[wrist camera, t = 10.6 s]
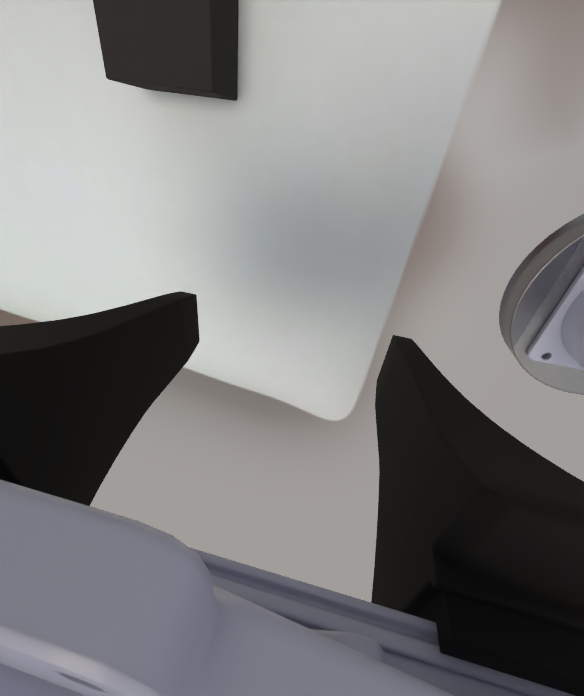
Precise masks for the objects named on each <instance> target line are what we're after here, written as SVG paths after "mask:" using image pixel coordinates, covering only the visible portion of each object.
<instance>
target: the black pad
mask: <svg viewBox="0 0 584 696" xmlns="http://www.w3.org/2000/svg"><path fill="white" fill-rule="evenodd" d="M93 3H94V8H95V14H96V20H97V26H98V32H99V37H100V43H101V49H102V55H103V61H104V66H105V72H106V77H107V79H109V80H113V81H117V82H121V83H125V84H129V85H132V86H136V87H140V88H144V89H149V90H157V91H165V92H173V93H180V94H188V95H196V96H204V97H212V98H219V99H227V100H235V101H236V100H237V50H238V0H93Z"/></svg>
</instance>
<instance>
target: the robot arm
mask: <svg viewBox="0 0 584 696" xmlns="http://www.w3.org/2000/svg"><path fill="white" fill-rule="evenodd" d="M198 343H199V327H198V313H197V298H196V295H195V294H190V293H185V292H175V293H170V294H166V295H162V296H158V297H154V298H151V299H147V300H144V301H140V302H137V303H133V304H130V305H126V306H122V307H118V308H114V309H110V310H106V311H102V312H98V313H94V314H89V315H84V316H79V317H73V318H67V319H62V320H55V321H47V322H38V323H30V324H21V325H10V326H0V696H584V482H583V481H582V480H580V479H578V478H576V477H574V476H573V475H571V474H569V473H567V472H566V471H564V470H563V469H561V468H560V467H558V466H556V465H555V464H553V463H552V462H550V461H549V460H547V459H545V458H544V457H542V456H541V455H539V454H537V453H536V452H535V451H533V450H532V449H530V448H529V447H527V446H526V445H524V444H523V443H521V442H520V441H519V440H517V439H516V438H515V437H513V436H511V435H510V434H509V433H508V432H506V431H504V430H503V429H502V428H501V427H499V426H498V425H497V424H496V423H494V422H493V421H492V420H490V419H489V418H488V417H487V416H486V415H484V414H483V413H482V412H481V411H480V410H479V409H477V408H476V407H475V406H474V405H473V404H471V403H470V402H469V401H468V400H467V399H466V398H465V397H464V396H463V395H462V394H461V393H460V392H459V391H458V390H457V389H456V388H455V387H454V386H453V385H452V384H451V383H450V382H449V381H448V380H447V379H446V378H445V377H444V376H443V375H442V374H441V372H440V371H439V370H438V369H437V368H436V367H435V366H434V365H433V363H432V362H431V361H430V360H429V359H428V357H427V356H426V355H425V354H424V353H423V352H422V350H421V349H420V348H419V347H418V346H417V345H416V343H415V342H414V341H413V340H412V339H409V338H405V337H400V336H395V335H393V337H392V339H391V343H390V345H389V348H388V351H387V354H386V356H385V360H384V362H383V365H382V368H381V371H380V374H379V376H378V379H377V386H376V402H375V409H376V424H377V436H378V450H379V466H380V467H379V469H380V476H379V477H380V478H379V503H378V522H377V539H376V553H375V568H374V579H373V590H372V602H371V603H370V602H367V601H364V600H360V599H357V598H353V597H351V596H347V595H344V594H341V593H337V592H334V591H331V590H327V589H324V588H321V587H318V586H314V585H311V584H308V583H305V582H301V581H298V580H295V579H291V578H288V577H284V576H281V575H278V574H275V573H271V572H268V571H265V570H262V569H258V568H255V567H252V566H249V565H245V564H242V563H239V562H236V561H232V560H228V559H226V558H222V557H219V556H216V555H213V554H209V553H205V552H203V551H199V550H196V549H193V548H190V547H188V546H186V545H185V544H184V543H182V542H181V541H179V540H178V539H177V538H175V537H174V536H173V535H170V534H168V533H166V532H163V531H161V530H158V529H156V528H154V527H151V526H149V525H147V524H144V523H142V522H140V521H137V520H134V519H130V518H126V517H124V516H120V515H116V514H113V513H110V512H107V511H104V510H100V509H97V508H93V507H90V504H91V502H92V500H93V498H94V496H95V494H96V492H97V490H98V489H99V487H100V485H101V483H102V482H103V479H104V478H105V476H106V475H107V473H108V471H109V469H110V468H111V466H112V464H113V462H114V461H115V459H116V457H117V456H118V454H119V452H120V451H121V449H122V447H123V446H124V444H125V443H126V441H127V439H128V438H129V436H130V435H131V433H132V432H133V430H134V429H135V427H136V425H137V424H138V422H139V421H140V420H141V418H142V417H143V415H144V414H145V412H146V411H147V410H148V408H149V407H150V406H151V404H152V403H153V402H154V400H155V399H156V398H157V397H158V396H159V395H160V393H161V392H162V391H163V390H164V389H165V388H166V386H167V385H168V384H169V383H170V382H171V380H172V379H173V378H174V377H175V376H176V374H177V373H178V372H179V371H180V370H181V368H182V367H183V366H184V365H185V364H186V362H187V361H188V359H189V358H190V356H191V355H192V353H193V351H194V350H195V348H196V346H197V344H198ZM526 353H527V356H528V357H529V358H530V359H531V360H534V361H539V362H544V363H549V364H553V365H558V366H563V367H568V368H573V369H578V370H583V371H584V266H583V267H582V269H581V270H580V272H579V273H578V275H577V276H576V278H575V279H574V281H573V282H572V284H571V285H570V287H569V288H568V290H567V291H566V293H565V294H564V296H563V297H562V299H561V300H560V302H559V303H558V305H557V306H556V308H555V309H554V311H553V312H552V314H551V315H550V317H549V318H548V320H547V321H546V323H545V324H544V326H543V327H542V329H541V330H540V332H539V333H538V335H537V336H536V338H535V339H534V341H533V342H532V344H531V345H530V347H529V348H528V350H527V352H526ZM544 353H548V354H547V355H546V356H542V355H543V354H544Z"/></svg>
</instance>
